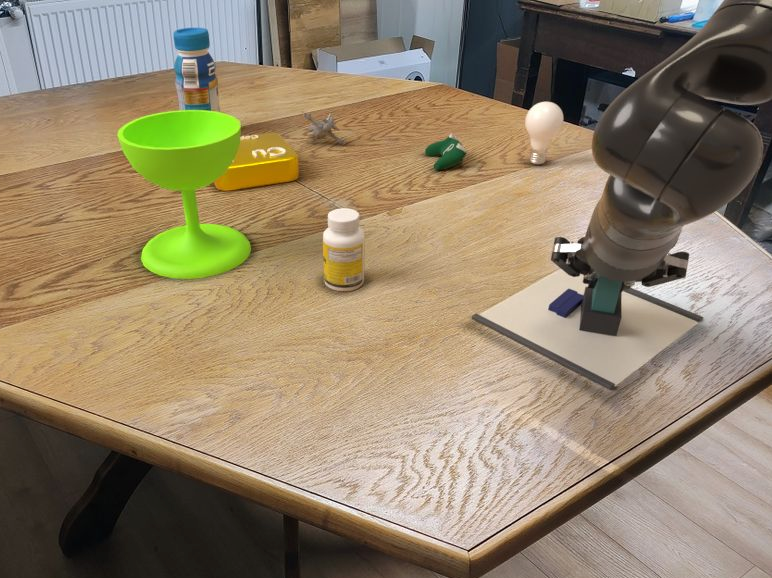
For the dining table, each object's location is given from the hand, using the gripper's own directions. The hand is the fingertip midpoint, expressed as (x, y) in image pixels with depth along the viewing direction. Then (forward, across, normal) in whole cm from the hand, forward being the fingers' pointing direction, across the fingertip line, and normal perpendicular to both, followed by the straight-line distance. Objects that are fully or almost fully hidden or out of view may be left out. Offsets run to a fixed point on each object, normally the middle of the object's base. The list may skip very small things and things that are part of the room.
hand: (605, 281), depth 80 cm
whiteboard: (+2, +1, +5) cm, 6 cm away
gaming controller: (+36, +27, -29) cm, 54 cm away
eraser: (+1, 0, +4) cm, 4 cm away
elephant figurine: (+38, +53, -32) cm, 73 cm away
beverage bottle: (+37, +78, -31) cm, 92 cm away
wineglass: (+4, +55, +3) cm, 55 cm away
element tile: (+26, +60, -19) cm, 68 cm away
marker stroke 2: (+2, +3, +3) cm, 5 cm away
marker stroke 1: (+3, +4, +2) cm, 6 cm away
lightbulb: (+39, +12, -32) cm, 51 cm away
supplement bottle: (+3, +32, +4) cm, 32 cm away
